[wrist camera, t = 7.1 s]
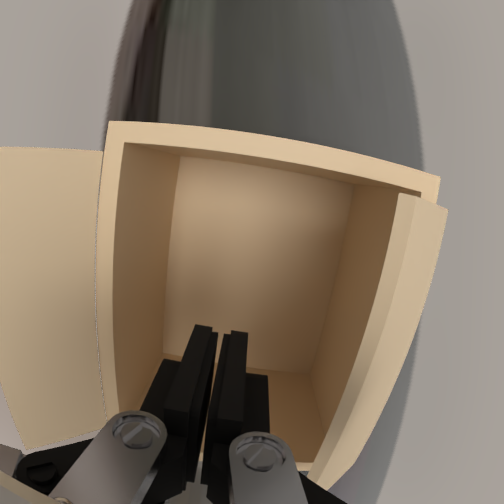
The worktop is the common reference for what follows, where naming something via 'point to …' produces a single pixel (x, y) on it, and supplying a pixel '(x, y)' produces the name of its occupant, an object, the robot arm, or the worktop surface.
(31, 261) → the flap
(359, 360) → the flap
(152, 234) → the carton
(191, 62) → the worktop surface
